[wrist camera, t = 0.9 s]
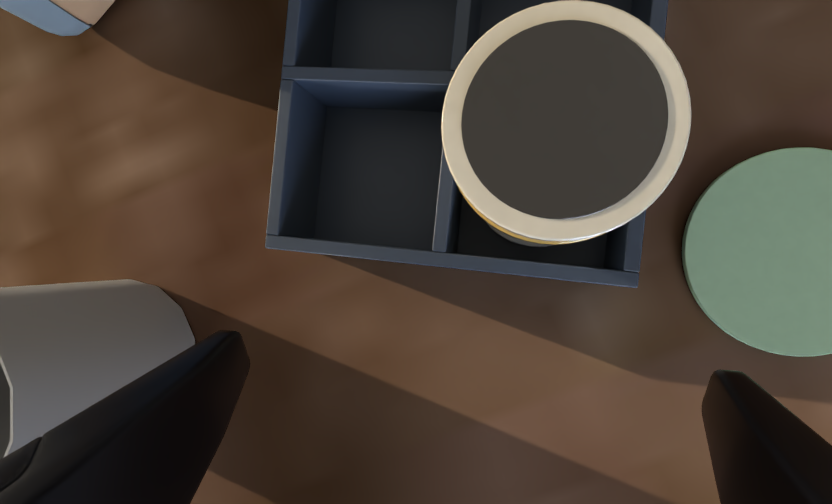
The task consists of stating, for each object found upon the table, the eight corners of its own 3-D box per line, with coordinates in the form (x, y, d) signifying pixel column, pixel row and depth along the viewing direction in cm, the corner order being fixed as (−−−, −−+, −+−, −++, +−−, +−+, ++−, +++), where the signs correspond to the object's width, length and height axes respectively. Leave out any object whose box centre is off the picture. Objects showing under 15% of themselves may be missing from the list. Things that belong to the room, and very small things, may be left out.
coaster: (816, 397, 21) (821, 400, 21) (639, 270, 23) (641, 270, 22) (966, 231, 20) (975, 230, 20) (770, 108, 22) (775, 106, 21)
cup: (179, 266, 27) (-9, 272, 17) (210, 412, 27) (34, 504, 17) (55, 298, 29) (-182, 321, 19) (82, 437, 28) (-146, 534, 18)
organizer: (614, 282, 23) (637, 288, 18) (305, 248, 26) (264, 248, 21) (649, -50, 23) (681, -122, 18) (334, -45, 25) (298, -106, 21)
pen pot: (547, 273, 23) (585, 293, 11) (451, 201, 24) (391, 149, 12) (625, 174, 22) (753, 84, 10) (523, 105, 23) (536, -51, 11)
